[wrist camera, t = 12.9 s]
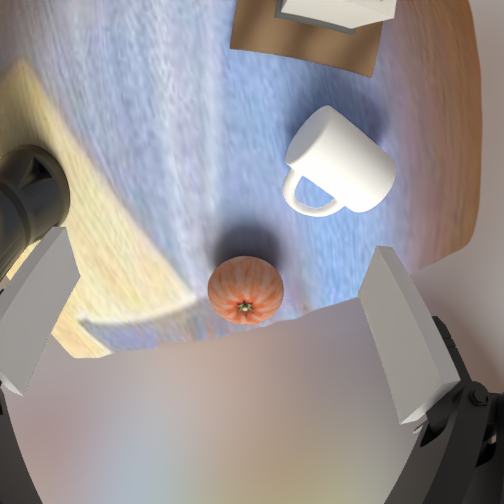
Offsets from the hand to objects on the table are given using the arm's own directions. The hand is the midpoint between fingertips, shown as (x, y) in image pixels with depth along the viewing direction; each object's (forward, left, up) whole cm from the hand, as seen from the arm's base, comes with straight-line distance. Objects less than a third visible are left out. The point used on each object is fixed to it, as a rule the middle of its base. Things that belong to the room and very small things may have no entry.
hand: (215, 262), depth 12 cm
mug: (+11, -3, -26) cm, 28 cm away
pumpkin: (+4, -22, -26) cm, 34 cm away
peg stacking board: (+6, +17, -26) cm, 31 cm away
